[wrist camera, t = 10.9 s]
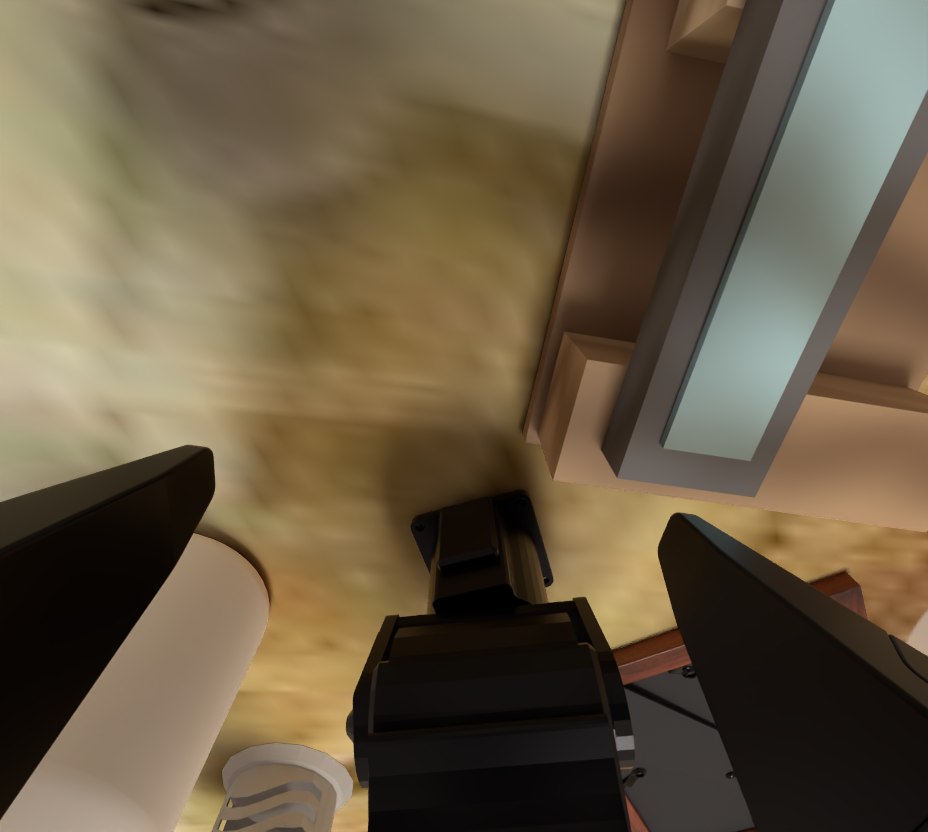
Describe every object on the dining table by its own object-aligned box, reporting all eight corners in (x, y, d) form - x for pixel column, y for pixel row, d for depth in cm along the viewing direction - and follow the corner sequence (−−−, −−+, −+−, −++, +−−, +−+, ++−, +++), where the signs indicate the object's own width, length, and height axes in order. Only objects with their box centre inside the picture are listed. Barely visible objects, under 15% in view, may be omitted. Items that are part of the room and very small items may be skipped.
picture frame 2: (526, 671, 31) (643, 847, 40) (530, 700, 29) (652, 878, 38) (837, 564, 27) (888, 784, 37) (864, 589, 26) (910, 815, 35)
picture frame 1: (725, 468, 18) (759, 502, 16) (601, 450, 18) (619, 482, 16) (975, -81, 12) (1088, -144, 9) (786, -126, 11) (861, -203, 9)
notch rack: (841, 479, 24) (930, 543, 20) (522, 433, 23) (537, 489, 18) (1147, -46, 16) (1428, -150, 11) (666, -165, 14) (760, -334, 10)
